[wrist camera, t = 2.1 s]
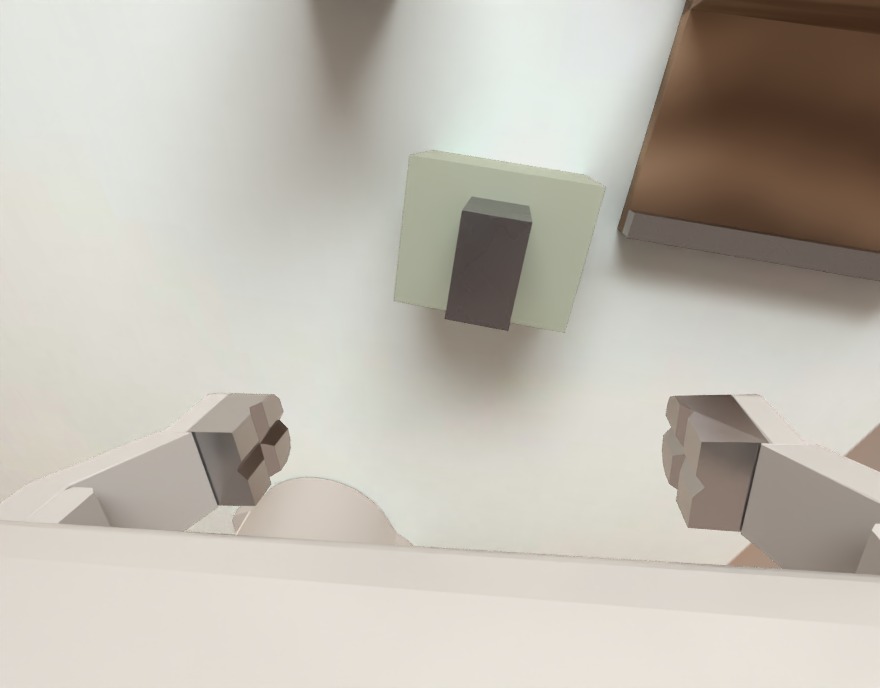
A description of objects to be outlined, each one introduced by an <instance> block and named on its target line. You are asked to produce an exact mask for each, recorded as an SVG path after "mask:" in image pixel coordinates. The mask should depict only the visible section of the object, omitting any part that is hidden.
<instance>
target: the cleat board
mask: <svg viewBox="0 0 880 688" xmlns="http://www.w3.org/2000/svg"><path fill="white" fill-rule="evenodd" d="M617 229H618V230H619V231H620V232H621V233H622V234H623V235H625V236H626V237H627V238H631V239H637V240H643V241H649V242H655V243H660V244H666V245H672V246H678V247H684V248H690V249H695V250H701V251H707V252H713V253H719V254H725V255H730V256H736V257H742V258H748V259H754V260H760V261H765V262H771V263H777V264H783V265H789V266H795V267H800V268H806V269H812V270H818V271H824V272H830V273H835V274H841V275H847V276H853V277H859V278H865V279H870V280H876V281H880V0H686V3H685V6H684V10H683V13H682V16H681V20H680V23H679V26H678V30H677V33H676V36H675V40H674V43H673V46H672V49H671V53H670V56H669V59H668V63H667V66H666V69H665V73H664V76H663V79H662V83H661V86H660V89H659V93H658V96H657V99H656V102H655V106H654V109H653V112H652V116H651V119H650V122H649V126H648V129H647V132H646V136H645V139H644V142H643V146H642V149H641V152H640V155H639V159H638V162H637V165H636V169H635V172H634V175H633V179H632V182H631V185H630V189H629V192H628V195H627V199H626V202H625V205H624V208H623V212H622V215H621V218H620V222H619V225H618V228H617Z"/></svg>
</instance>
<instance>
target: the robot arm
mask: <svg viewBox="0 0 880 688" xmlns="http://www.w3.org/2000/svg"><path fill="white" fill-rule="evenodd" d="M282 414H283V408H282V405H281V402H280V399H279V398H278V397H277V396H276V395H274V394H242V393H234V394H233V393H214V394H208V395H207V396H205V397H204V398H203V399H202V400H201V401H199V402H198V403H197V404H196V405H195V406H193V407H192V408H191V409H190V410H188V411H187V412H186V413H185V414H184V415H182V416H181V417H180V418H179V419H178V420H176V421H175V422H174V423H173V424H172V425H170V426H169V427H168V428H167V429H166V430H164V431H163V432H154V433H152V434H149V435H147V436H144V437H142V438H139V439H137V440H134V441H132V442H129V443H127V444H124V445H122V446H120V447H117V448H115V449H112V450H110V451H107V452H105V453H102V454H100V455H97V456H95V457H92V458H90V459H87V460H85V461H82V462H80V463H77V464H75V465H72V466H70V467H67V468H65V469H62V470H60V471H57V472H55V473H52V474H50V475H47V476H45V477H42V478H40V479H37V480H35V481H32V482H30V483H28V484H26V485H25V486H24V487H22V488H21V489H19V490H18V491H17V492H15V493H14V494H12V495H11V496H10V497H8V498H7V499H5V500H4V501H3V502H1V503H0V688H880V472H878V471H876V470H874V469H871V468H869V467H867V466H865V465H862V464H860V463H858V462H856V461H853V460H851V459H849V458H846V457H844V456H842V455H840V454H837V453H835V452H833V451H831V450H828V449H826V448H824V447H821V446H819V445H812V444H806V443H805V442H804V441H803V439H802V438H801V437H800V436H799V435H798V434H797V433H796V432H795V431H794V430H793V429H792V428H791V426H790V425H789V424H788V423H787V422H786V421H785V420H784V419H783V418H782V417H781V416H780V414H779V413H778V412H777V411H776V410H775V409H774V408H773V407H772V406H771V405H770V404H769V402H768V401H767V400H766V399H765V398H764V397H763V396H760V395H758V394H745V395H694V396H671V397H670V398H669V401H668V403H667V409H666V417H667V419H668V421H669V423H670V426H671V428H670V429H669V430H668V431H667V432H666V433H665V434H664V435H663V444H662V458H663V467H664V471H665V475H666V477H667V480H668V482H669V484H670V485H672V486H673V487H675V488H676V489H677V497H676V502H677V504H678V506H679V509H680V511H681V513H682V516H683V518H684V520H685V523H686V525H687V527H688V528H698V529H711V530H724V531H738V532H741V534H742V535H743V536H744V537H745V538H746V539H748V540H749V541H750V542H751V543H752V544H754V545H755V546H756V547H757V548H758V549H760V550H761V551H762V552H763V553H764V554H766V555H767V556H768V557H769V558H770V559H772V560H773V561H774V562H775V563H776V564H778V565H779V566H780V567H781V568H782V569H774V568H758V567H742V566H727V565H711V564H695V563H679V562H663V561H647V560H631V559H615V558H599V557H583V556H566V555H550V554H534V553H518V552H502V551H486V550H470V549H454V548H439V547H423V546H413V545H412V544H411V543H409V542H408V541H407V540H406V539H404V538H403V537H402V536H400V535H399V534H398V533H397V532H396V531H395V530H394V529H393V527H392V526H391V524H390V523H389V521H388V519H387V518H386V516H385V515H384V514H383V512H382V511H381V510H380V509H379V508H378V507H377V506H376V505H375V504H374V503H373V502H372V501H371V500H369V499H368V498H367V497H365V496H364V495H363V494H361V493H360V492H358V491H356V490H354V489H352V488H350V487H348V486H346V485H343V484H341V483H338V482H335V481H331V480H327V479H321V478H296V479H291V480H287V481H285V482H282V483H280V484H278V485H276V486H274V487H273V488H272V489H270V490H269V491H268V492H267V493H266V494H265V492H266V491H267V489H268V488H269V487H270V485H271V481H270V476H272V475H274V474H275V473H277V472H279V471H281V470H282V468H283V467H284V465H285V464H286V462H287V460H288V456H289V453H290V449H291V447H290V435H289V431H288V428H287V427H286V426H285V425H284V424H283V423H282V422H281V421H280V418H281V416H282ZM264 494H265V495H264ZM263 495H264V496H263ZM262 496H263V497H262ZM218 505H228V506H241V507H240V508H238V509H237V511H236V513H235V515H234V516H233V524H234V528H235V531H236V534H235V535H232V534H216V533H200V532H184V531H185V530H186V529H188V528H189V527H191V526H192V525H194V524H195V523H196V522H198V521H199V520H201V519H202V518H204V517H205V516H206V515H208V514H209V513H211V512H212V511H213V510H215V509H216V508H218Z"/></svg>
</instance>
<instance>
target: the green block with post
mask: <svg viewBox="0 0 880 688" xmlns="http://www.w3.org/2000/svg"><path fill="white" fill-rule="evenodd" d="M605 189H606V187H605V186H604V185H602V184H600V183H598V182H597V181H595V180H593V179H591V178H590V177H588V176H586V175H584V174H578V173H572V172H566V171H560V170H553V169H547V168H541V167H535V166H529V165H523V164H516V163H510V162H504V161H498V160H492V159H486V158H480V157H473V156H467V155H461V154H455V153H449V152H443V151H437V150H431V151H426V152H421V153H416V154H410V155H409V163H408V172H407V182H406V191H405V200H404V210H403V219H402V228H401V238H400V247H399V256H398V266H397V275H396V284H395V294H394V301H397V302H402V303H408V304H413V305H418V306H424V307H429V308H434V309H440V310H445V311H446V314H445V319H448V320H453V321H459V322H464V323H469V324H474V325H480V326H485V327H490V328H496V329H501V330H506V331H508V329H509V325H510V323H514V324H520V325H525V326H530V327H536V328H541V329H546V330H552V331H557V332H562V333H565V331H566V328H567V324H568V320H569V317H570V313H571V310H572V306H573V303H574V299H575V295H576V292H577V288H578V285H579V281H580V278H581V274H582V271H583V267H584V263H585V260H586V256H587V253H588V249H589V246H590V242H591V239H592V235H593V231H594V228H595V224H596V221H597V217H598V214H599V210H600V207H601V203H602V199H603V196H604V192H605Z"/></svg>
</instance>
